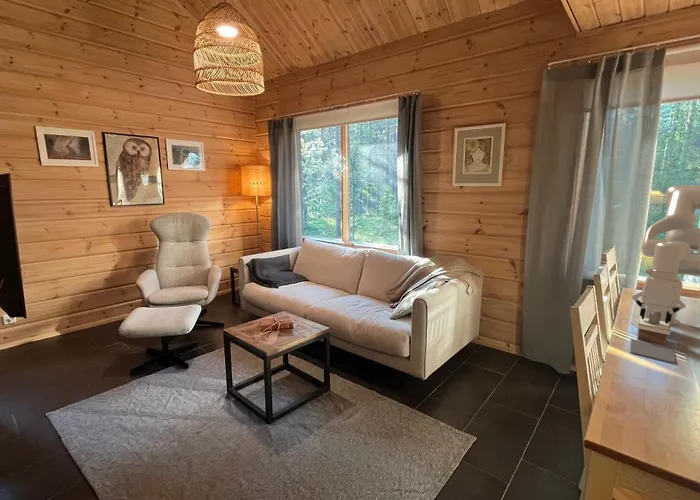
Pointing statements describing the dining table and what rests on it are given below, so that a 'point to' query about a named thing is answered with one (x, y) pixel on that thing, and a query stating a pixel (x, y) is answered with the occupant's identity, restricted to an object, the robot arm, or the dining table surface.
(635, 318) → the supplement box
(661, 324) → the lid
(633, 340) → the mat
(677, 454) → the dining table surface
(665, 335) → the storage box
